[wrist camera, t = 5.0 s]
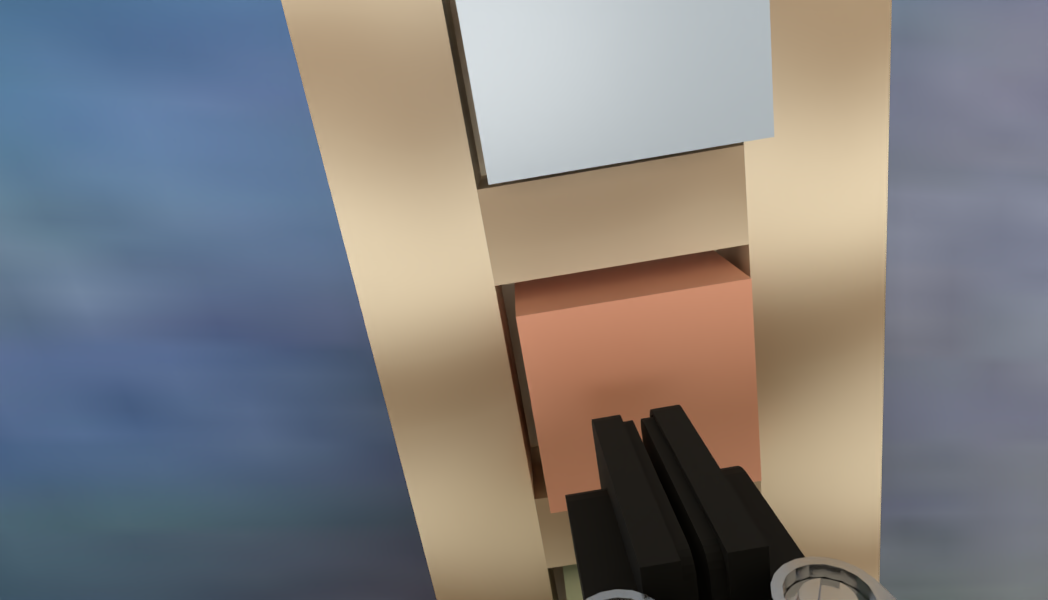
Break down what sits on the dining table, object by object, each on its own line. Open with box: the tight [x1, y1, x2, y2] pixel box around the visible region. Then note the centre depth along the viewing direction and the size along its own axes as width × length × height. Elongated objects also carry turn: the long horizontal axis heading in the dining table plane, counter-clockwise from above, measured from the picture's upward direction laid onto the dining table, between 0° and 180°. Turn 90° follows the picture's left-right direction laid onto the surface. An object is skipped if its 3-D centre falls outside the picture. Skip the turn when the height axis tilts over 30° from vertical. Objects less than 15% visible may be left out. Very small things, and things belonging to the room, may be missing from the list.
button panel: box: [281, 0, 892, 600], centre depth 17 cm, size 24×12×4 cm, turn 9°
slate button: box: [455, 0, 774, 185], centre depth 12 cm, size 5×5×4 cm
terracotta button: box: [514, 250, 762, 513], centre depth 16 cm, size 5×5×4 cm
